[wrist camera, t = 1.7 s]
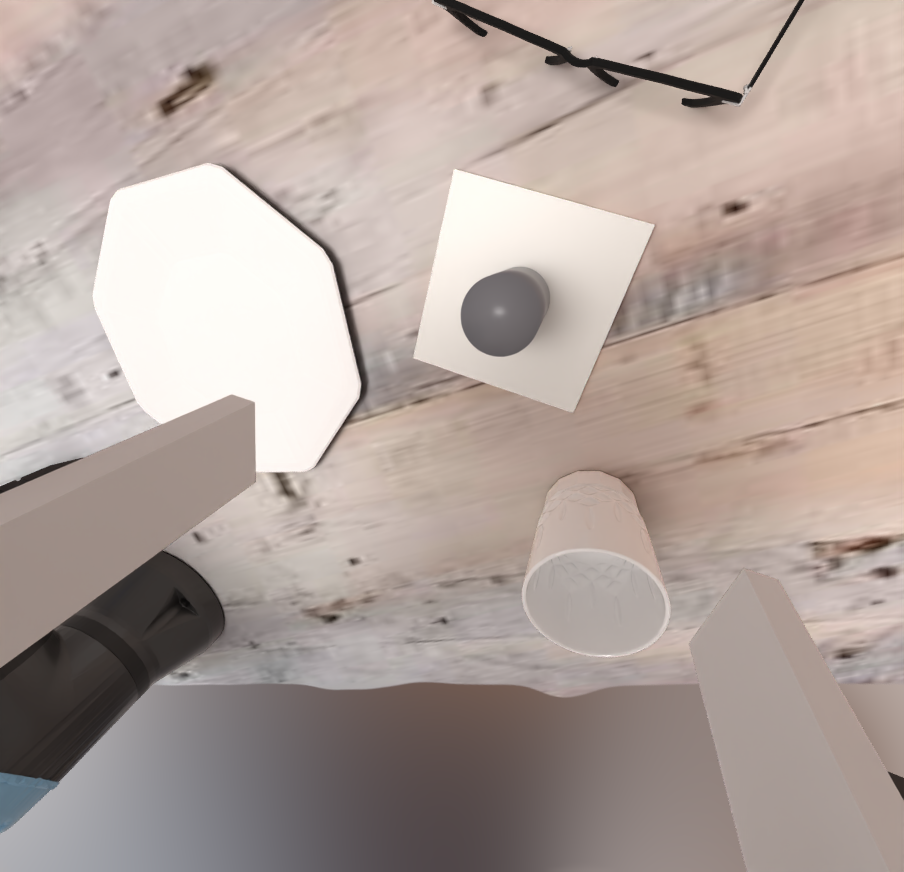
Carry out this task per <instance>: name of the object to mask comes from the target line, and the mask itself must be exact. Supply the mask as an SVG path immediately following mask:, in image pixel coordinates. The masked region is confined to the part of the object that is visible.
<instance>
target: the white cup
mask: <svg viewBox="0 0 904 872" xmlns="http://www.w3.org/2000/svg"><path fill="white" fill-rule="evenodd" d="M522 604H523V607H524V610H525V613H526V615H527V617H528V619H529V620H530V622H531V623H532V624H533V626H534V627H535V628H536V629H537V630H538V631H539V632H540V633H541V634H542V635H543V636H544V637H546V638H547V639H548V640H550V641H551V642H553V643H554V644H556V645H558V646H560V647H562V648H564V649H566V650H569V651H571V652H574V653H578V654H581V655H586V656H591V657H601V658H612V657H621V656H627V655H631V654H634V653H637V652H639V651H642V650H644V649H646V648H647V647H649V646H651V645H652V644H653V643H655V642H656V641H657V640H658V639H659V638H660V637H661V636H662V634H663V633H664V632H665V630H666V628H667V626H668V623H669V620H670V615H671V606H670V600H669V597H668V594H667V590H666V587H665V584H664V581H663V578H662V575H661V571H660V568H659V565H658V562H657V558H656V555H655V552H654V549H653V546H652V543H651V539H650V536H649V533H648V531H647V528H646V525H645V522H644V520H643V518H642V517H641V515H640V513H639V510H638V507H637V504H636V500H635V497H634V494H633V492H632V491H631V490H630V489H629V488H628V487H627V486H626V485H625V484H624V483H623V482H622V481H621V480H620V479H618V478H616V477H613V476H611V475H608V474H606V473H603V472H601V471H577V472H574V473H572V474H569V475H567V476H565V477H562V478H560V479H559V480H558V481H557V482H556V483H555V484H554V485H553V487H552V488H551V489H550V490H549V491H548V492H547V496H546V501H545V506H544V509H543V512H542V514H541V516H540V518H539V522H538V525H537V529H536V532H535V537H534V541H533V545H532V549H531V553H530V558H529V562H528V566H527V570H526V574H525V578H524V582H523V586H522Z"/></svg>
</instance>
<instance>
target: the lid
mask: <svg viewBox="0 0 904 872" xmlns="http://www.w3.org/2000/svg"><path fill="white" fill-rule="evenodd" d="M654 226H655V225H654V224H651V223H647V222H643V221H640V220H636V219H633V218H629V217H625V216H622V215H618V214H615V213H611V212H607V211H604V210H600V209H597V208H593V207H590V206H586V205H582V204H579V203H575V202H572V201H568V200H564V199H561V198H557V197H554V196H550V195H546V194H543V193H539V192H536V191H532V190H528V189H525V188H521V187H518V186H514V185H510V184H507V183H503V182H500V181H496V180H493V179H489V178H485V177H482V176H478V175H475V174H471V173H467V172H464V171H460V170H457V169H454V172H453V177H452V181H451V186H450V191H449V195H448V200H447V204H446V209H445V214H444V218H443V223H442V227H441V232H440V237H439V241H438V246H437V250H436V255H435V259H434V264H433V269H432V273H431V278H430V282H429V287H428V292H427V296H426V301H425V305H424V310H423V314H422V319H421V324H420V328H419V333H418V337H417V342H416V347H415V351H414V356H413V358H414V359H417V360H420V361H423V362H426V363H429V364H432V365H435V366H437V367H440V368H443V369H446V370H449V371H452V372H455V373H458V374H461V375H464V376H466V377H469V378H472V379H475V380H478V381H481V382H484V383H487V384H490V385H493V386H495V387H498V388H501V389H504V390H507V391H510V392H513V393H516V394H519V395H521V396H524V397H527V398H530V399H533V400H536V401H539V402H542V403H545V404H548V405H550V406H553V407H556V408H559V409H562V410H565V411H568V412H571V413H574V410H575V408H576V406H577V403H578V401H579V399H580V396H581V394H582V392H583V390H584V387H585V385H586V383H587V380H588V378H589V376H590V373H591V371H592V369H593V367H594V364H595V362H596V360H597V357H598V355H599V353H600V350H601V348H602V346H603V343H604V341H605V339H606V337H607V334H608V332H609V330H610V327H611V325H612V323H613V320H614V318H615V316H616V314H617V311H618V309H619V307H620V304H621V302H622V300H623V297H624V295H625V293H626V290H627V288H628V286H629V284H630V281H631V279H632V277H633V274H634V272H635V270H636V267H637V265H638V263H639V261H640V258H641V256H642V254H643V251H644V249H645V247H646V244H647V242H648V240H649V237H650V235H651V233H652V231H653V228H654Z"/></svg>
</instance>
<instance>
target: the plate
mask: <svg viewBox="0 0 904 872" xmlns="http://www.w3.org/2000/svg"><path fill="white" fill-rule="evenodd" d="M92 296H93V302H94V308H95V310H96V312H97V314H98V317H99V319H100V321H101V323H102V326H103V328H104V330H105V332H106V334H107V337H108V339H109V341H110V343H111V346H112V348H113V350H114V352H115V354H116V357H117V359H118V361H119V363H120V365H121V368H122V370H123V372H124V374H125V377H126V379H127V381H128V383H129V385H130V388H131V390H132V392H133V394H134V397H135V399H136V401H137V402H138V404H139V405H140V406H141V408H142V409H143V410H144V411H145V412H146V413H147V414H148V415H150V416H151V417H152V418H154V419H155V420H156V421H157V422H159V423H160V424H164V423H166V422H168V421H171V420H173V419H175V418H178V417H180V416H182V415H185V414H187V413H189V412H192V411H194V410H196V409H199V408H201V407H203V406H205V405H208V404H210V403H212V402H215V401H217V400H219V399H222V398H224V397H226V396H229V395H231V394H233V395H235V396H238V397H241V398H244V399H247V400H250V401H253V402H255V444H256V472H306V471H308V470H310V469H312V468H314V467H315V466H316V464H317V463H318V461H319V460H320V458H321V457H322V455H323V454H324V452H325V450H326V449H327V447H328V446H329V444H330V443H331V441H332V440H333V438H334V437H335V435H336V433H337V432H338V430H339V429H340V427H341V426H342V424H343V423H344V421H345V420H346V418H347V416H348V415H349V413H350V412H351V410H352V409H353V407H354V406H355V404H356V403H357V401H358V399H359V398H360V396H361V389H362V380H361V376H360V372H359V368H358V363H357V359H356V355H355V351H354V347H353V342H352V338H351V334H350V330H349V326H348V321H347V317H346V313H345V309H344V305H343V300H342V296H341V292H340V288H339V284H338V279H337V275H336V271H335V267H334V264H333V262H332V260H331V259H330V257H329V255H328V254H327V252H326V250H325V249H324V248H323V247H322V246H320V245H319V244H318V243H317V242H315V241H314V240H313V239H312V238H310V237H309V236H308V235H307V234H306V233H304V232H303V231H302V230H301V229H299V228H298V227H297V226H296V225H295V224H293V223H292V222H291V221H290V220H288V219H287V218H286V217H285V216H283V215H282V214H281V213H280V212H279V211H277V210H276V209H275V208H274V207H272V206H271V205H270V204H269V203H268V202H266V201H265V200H264V199H263V198H261V197H260V196H259V195H258V194H256V193H255V192H254V191H253V190H252V189H250V188H249V187H248V186H247V185H245V184H244V183H243V182H242V181H241V180H239V179H238V178H237V177H236V176H234V175H233V174H232V173H231V172H229V171H228V170H227V169H226V168H225V167H222V166H218V165H214V164H210V163H205V164H202V165H199V166H195V167H192V168H189V169H185V170H182V171H179V172H175V173H172V174H168V175H165V176H162V177H158V178H155V179H152V180H148V181H145V182H141V183H138V184H135V185H131V186H128V187H125V188H121V189H118V190H117V191H116V193H115V194H114V195H113V197H112V198H111V200H110V205H109V210H108V215H107V220H106V226H105V231H104V236H103V241H102V247H101V252H100V257H99V262H98V268H97V273H96V278H95V283H94V289H93V294H92Z"/></svg>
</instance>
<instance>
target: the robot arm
mask: <svg viewBox="0 0 904 872" xmlns="http://www.w3.org/2000/svg"><path fill="white" fill-rule="evenodd" d="M255 482H256V444H255V402H253V401H250V400H247V399H244V398H241V397H238V396H235V395H233V394H231V395H229V396H226V397H224V398H222V399H219V400H217V401H215V402H212V403H210V404H208V405H205V406H203V407H201V408H199V409H196V410H194V411H192V412H189V413H187V414H185V415H182V416H180V417H178V418H175V419H173V420H171V421H168V422H166V423H164V424H161V425H159V426H157V427H154V428H152V429H150V430H147V431H145V432H143V433H141V434H138V435H136V436H134V437H131V438H129V439H127V440H124V441H122V442H120V443H117V444H115V445H113V446H110V447H108V448H106V449H103V450H101V451H99V452H96V453H94V454H92V455H89V456H87V457H85V458H80V459H75V460H71V461H67V462H63V463H59V464H54V465H50V466H48V467H46V468H43V469H41V470H38V471H36V472H34V473H31V474H29V475H26V476H24V477H22V478H21V480H20V481H16V480H14V481H12V482H10V483H7V484H5V485H2V486H0V833H2V832H4V831H6V830H7V829H9V828H10V827H11V826H13V825H14V824H15V823H16V822H17V821H18V820H19V819H20V818H22V817H23V816H24V815H25V814H26V813H27V812H28V811H29V810H30V809H31V808H32V807H33V806H34V805H35V804H36V803H37V802H38V801H39V800H41V798H43V797H44V795H46V794H47V793H48V792H49V791H50V790H52V789H54V788H55V787H57V785H58V784H59V781H60V780H61V779H62V778H63V777H64V776H65V775H66V774H67V773H68V772H69V771H70V770H71V769H72V768H73V767H74V766H75V764H77V763H78V761H79V760H80V759H81V758H82V757H83V756H84V755H85V754H86V753H87V752H88V751H89V750H90V749H91V748H92V747H93V746H94V745H95V744H96V743H97V741H98V740H100V739H101V737H102V736H103V735H104V734H105V733H106V732H107V731H108V730H109V729H110V728H111V727H112V726H113V725H114V724H115V723H116V722H117V721H118V720H119V719H120V718H121V717H122V716H123V715H124V713H125V712H126V711H127V710H128V709H129V708H130V707H131V706H132V705H133V704H134V703H135V702H136V701H137V700H138V699H139V698H140V697H141V696H142V695H143V694H144V693H145V692H146V691H147V690H148V689H149V688H150V687H151V686H152V685H153V684H154V683H155V682H157V681H158V680H160V679H162V678H163V677H165V676H166V675H168V674H170V673H171V672H173V671H174V670H176V669H178V668H179V667H181V666H183V665H184V664H186V663H187V662H189V661H190V660H192V659H193V658H195V657H197V656H198V655H200V654H202V653H203V652H204V651H206V650H207V649H208V648H209V647H210V645H211V644H212V643H213V642H214V641H215V640H216V639H217V638H218V637H219V636H220V634H221V633H222V630H223V626H224V618H223V613H222V609H221V607H220V604H219V602H218V600H217V598H216V597H215V595H214V593H213V592H212V590H211V589H210V588H209V586H208V585H207V584H206V583H205V582H204V580H203V579H202V578H201V577H200V576H199V575H198V574H197V573H195V572H194V571H193V570H192V569H191V568H190V567H188V566H187V565H186V564H184V563H183V562H181V561H180V560H178V559H176V558H174V557H173V556H171V555H169V554H166V553H164V552H161V551H162V550H163V549H164V548H166V547H167V546H168V545H170V544H171V543H173V542H174V541H175V540H177V539H178V538H179V537H181V536H182V535H184V534H185V533H186V532H188V531H189V530H190V529H192V528H193V527H195V526H196V525H197V524H199V523H200V522H201V521H203V520H204V519H206V518H207V517H208V516H210V515H211V514H212V513H214V512H215V511H217V510H218V509H219V508H221V507H222V506H223V505H225V504H226V503H228V502H229V501H230V500H232V499H233V498H234V497H236V496H237V495H239V494H240V493H241V492H243V491H244V490H245V489H247V488H248V487H250V486H251V485H252V484H254V483H255ZM689 646H690V650H691V654H692V658H693V662H694V666H695V670H696V674H697V678H698V682H699V686H700V689H701V693H702V697H703V701H704V705H705V709H706V713H707V717H708V721H709V725H710V728H711V733H712V737H713V740H714V745H715V748H716V752H717V756H718V760H719V764H720V768H721V772H722V776H723V780H724V784H725V788H726V792H727V795H728V800H729V803H730V807H731V811H732V815H733V819H734V823H735V827H736V831H737V835H738V839H739V843H740V847H741V851H742V855H743V858H744V863H745V867H746V870H747V872H904V778H903V777H900V776H898V775H895V774H893V773H890V772H888V771H887V770H886V768H885V767H884V765H883V763H882V761H881V760H880V758H879V756H878V754H877V753H876V751H875V749H874V747H873V745H872V744H871V742H870V740H869V738H868V737H867V735H866V733H865V731H864V730H863V728H862V726H861V724H860V722H859V721H858V719H857V717H856V715H855V714H854V712H853V710H852V709H851V707H850V705H849V703H848V701H847V700H846V698H845V696H844V694H843V693H842V691H841V689H840V687H839V685H838V684H837V682H836V680H835V678H834V677H833V675H832V673H831V671H830V670H829V668H828V666H827V664H826V663H825V661H824V659H823V657H822V655H821V654H820V652H819V650H818V648H817V647H816V645H815V643H814V641H813V640H812V638H811V636H810V634H809V633H808V631H807V629H806V627H805V625H804V624H803V622H802V620H801V618H800V617H799V615H798V613H797V611H796V610H795V608H794V606H793V604H792V603H791V601H790V599H789V597H788V596H787V594H786V592H785V590H784V588H783V587H782V585H781V583H780V581H779V580H777V579H775V578H772V577H769V576H766V575H763V574H760V573H757V572H754V571H751V570H748V569H745V568H743V570H742V571H741V572H740V574H739V575H738V577H737V578H736V579H735V581H734V582H733V583H732V585H731V586H730V588H729V589H728V590H727V592H726V593H725V594H724V596H723V597H722V599H721V600H720V601H719V603H718V604H717V605H716V607H715V608H714V610H713V611H712V612H711V614H710V615H709V616H708V618H707V619H706V621H705V622H704V623H703V625H702V626H701V627H700V629H699V630H698V632H697V633H696V634H695V636H694V637H693V638H692V640H691V641H690V643H689Z"/></svg>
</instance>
